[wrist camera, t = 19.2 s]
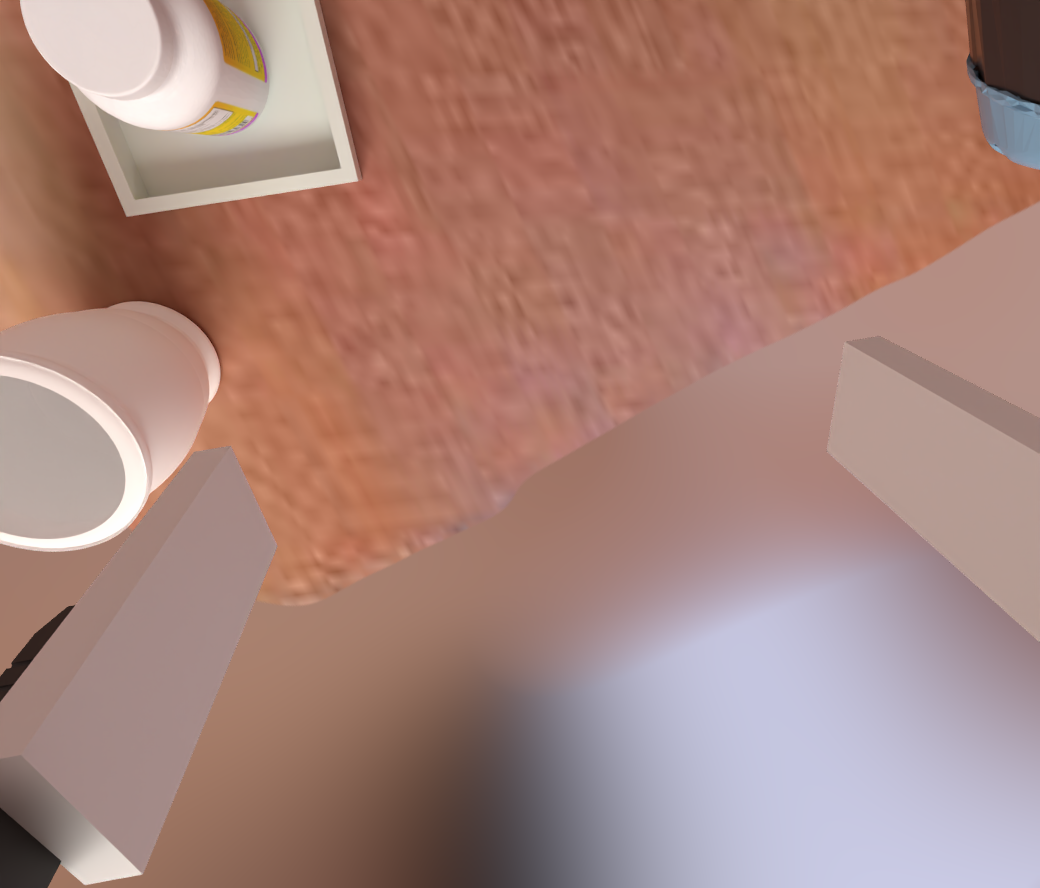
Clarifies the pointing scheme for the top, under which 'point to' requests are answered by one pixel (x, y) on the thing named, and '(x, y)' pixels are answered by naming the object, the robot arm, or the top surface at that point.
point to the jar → (95, 419)
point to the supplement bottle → (156, 60)
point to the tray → (254, 151)
